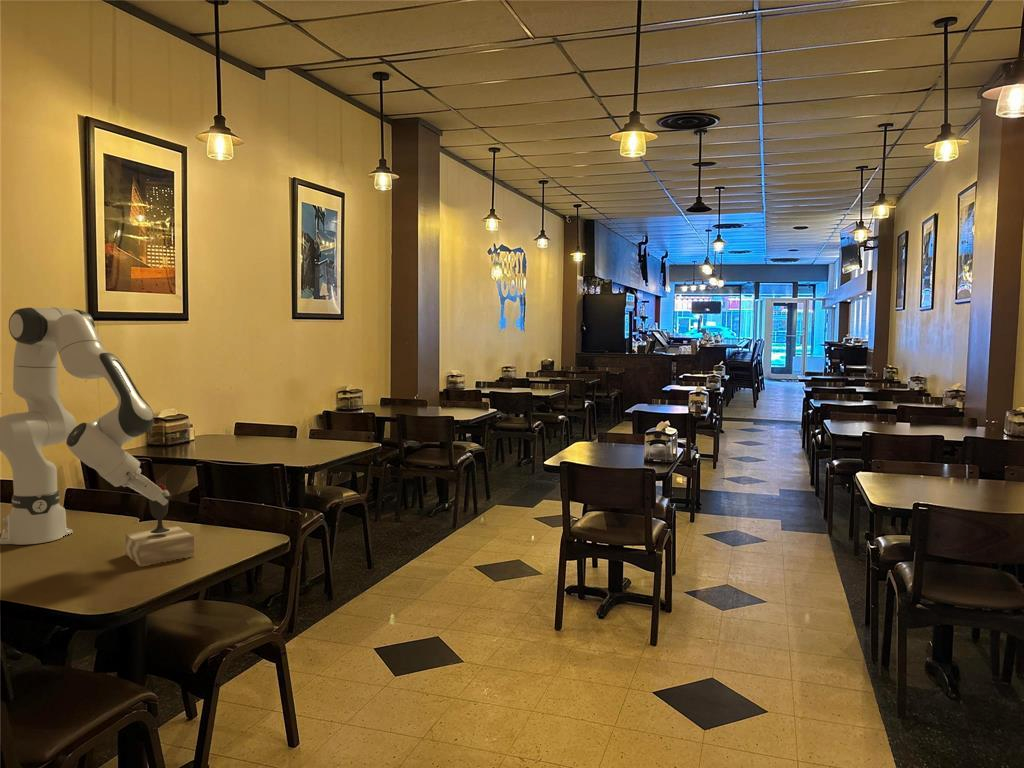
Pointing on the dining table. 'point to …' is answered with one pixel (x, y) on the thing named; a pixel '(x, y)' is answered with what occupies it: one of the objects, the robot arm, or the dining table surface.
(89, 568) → the dining table surface
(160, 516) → the sundae
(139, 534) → the block
